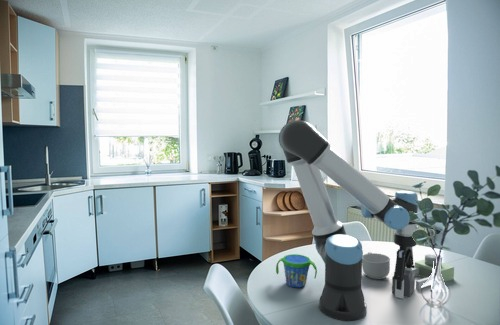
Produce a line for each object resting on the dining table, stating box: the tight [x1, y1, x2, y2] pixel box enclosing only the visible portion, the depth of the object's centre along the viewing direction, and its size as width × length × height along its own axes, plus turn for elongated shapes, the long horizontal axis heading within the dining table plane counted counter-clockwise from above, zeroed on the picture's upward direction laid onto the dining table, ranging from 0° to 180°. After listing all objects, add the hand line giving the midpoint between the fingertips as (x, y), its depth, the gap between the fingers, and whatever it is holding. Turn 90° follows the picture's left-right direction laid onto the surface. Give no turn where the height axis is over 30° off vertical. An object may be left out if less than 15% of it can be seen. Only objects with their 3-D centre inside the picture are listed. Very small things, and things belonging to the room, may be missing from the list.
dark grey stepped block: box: [391, 270, 416, 298], centre depth 128 cm, size 8×6×8 cm
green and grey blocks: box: [412, 253, 455, 291], centre depth 138 cm, size 21×11×8 cm, turn 119°
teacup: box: [362, 251, 391, 280], centre depth 143 cm, size 14×11×8 cm
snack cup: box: [275, 253, 318, 289], centre depth 134 cm, size 16×10×10 cm
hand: (403, 290), depth 128 cm, fingers open, 12 cm apart
